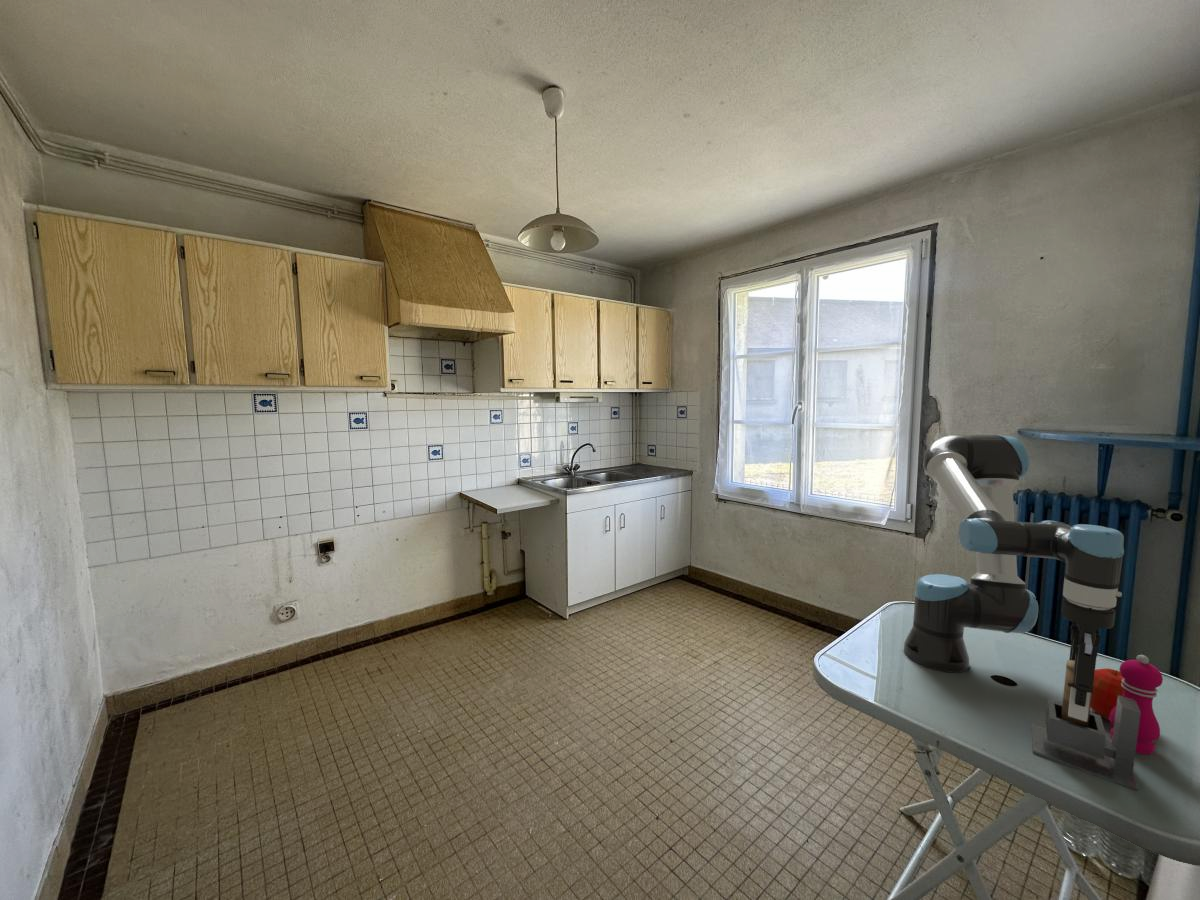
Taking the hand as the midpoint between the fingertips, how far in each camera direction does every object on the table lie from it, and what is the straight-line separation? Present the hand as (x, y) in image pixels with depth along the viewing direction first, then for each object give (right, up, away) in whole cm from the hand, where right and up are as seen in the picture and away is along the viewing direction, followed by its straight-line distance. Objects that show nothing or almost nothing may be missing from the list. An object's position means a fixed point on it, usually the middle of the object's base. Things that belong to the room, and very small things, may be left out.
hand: (1075, 710), depth 98 cm
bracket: (+1, -9, 0) cm, 9 cm away
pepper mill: (+15, -9, +4) cm, 18 cm away
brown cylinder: (0, -5, +1) cm, 5 cm away
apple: (+20, -8, +12) cm, 25 cm away
